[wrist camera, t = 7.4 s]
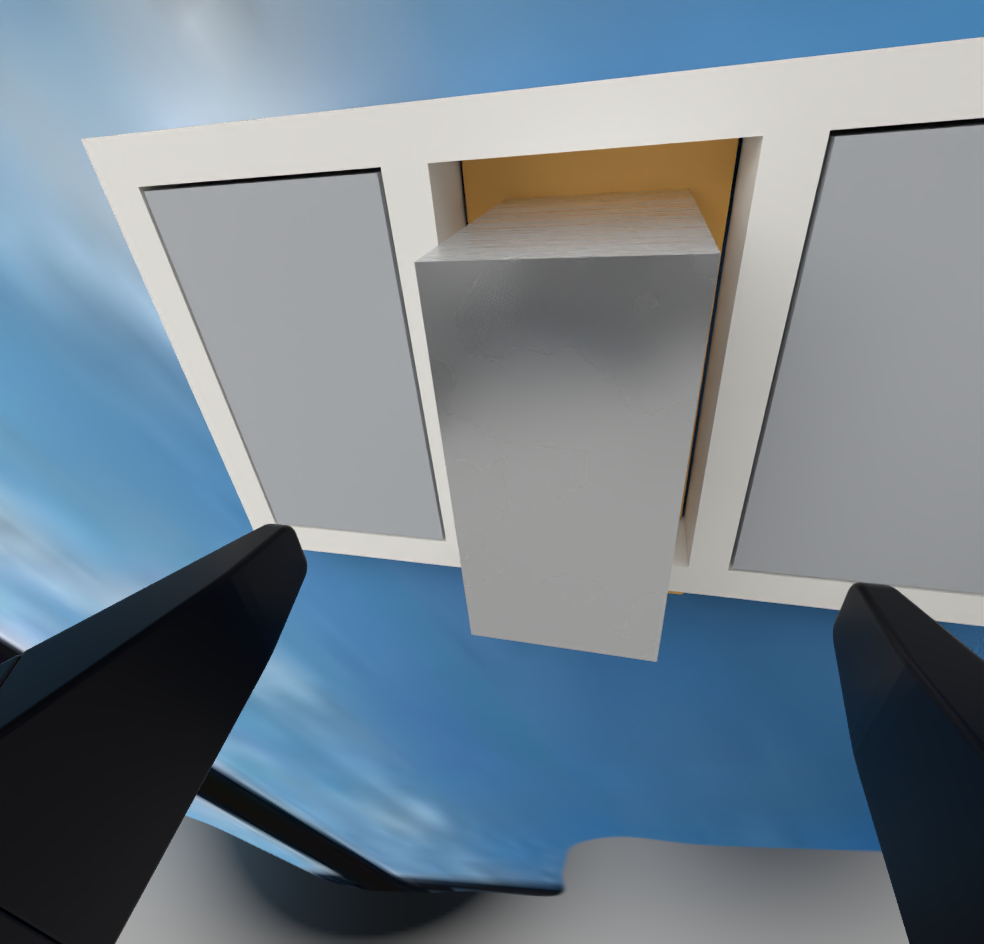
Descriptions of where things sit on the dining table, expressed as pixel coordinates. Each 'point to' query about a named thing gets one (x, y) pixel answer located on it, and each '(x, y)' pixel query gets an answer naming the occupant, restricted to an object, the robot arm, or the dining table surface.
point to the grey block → (570, 408)
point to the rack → (737, 326)
